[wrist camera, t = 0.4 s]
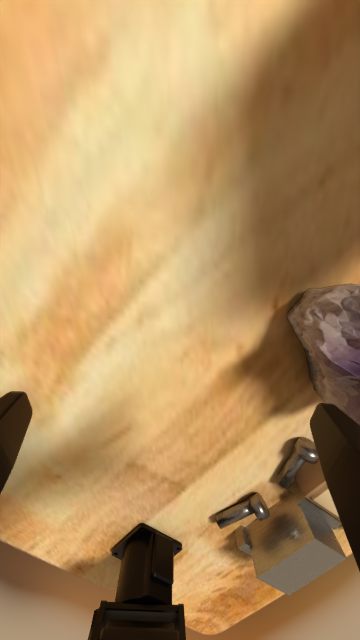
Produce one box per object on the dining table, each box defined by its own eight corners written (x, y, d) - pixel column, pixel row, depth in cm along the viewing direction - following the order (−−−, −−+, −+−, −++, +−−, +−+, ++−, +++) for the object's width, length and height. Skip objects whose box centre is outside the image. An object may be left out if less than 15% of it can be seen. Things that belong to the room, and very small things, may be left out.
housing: (270, 550, 34) (285, 602, 29) (234, 530, 33) (244, 581, 28) (332, 506, 32) (360, 555, 27) (296, 481, 30) (319, 528, 25)
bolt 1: (223, 521, 32) (227, 543, 30) (212, 509, 31) (215, 531, 29) (265, 500, 31) (272, 522, 29) (255, 488, 30) (261, 509, 28)
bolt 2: (290, 479, 30) (299, 499, 28) (271, 473, 30) (278, 494, 27) (315, 440, 28) (326, 459, 26) (294, 434, 28) (304, 452, 26)
